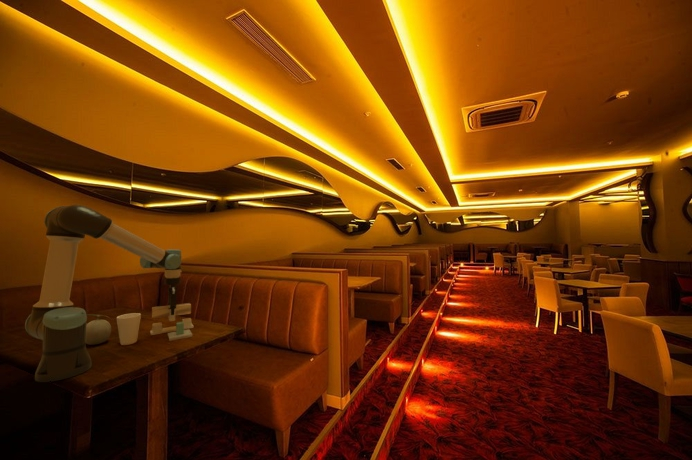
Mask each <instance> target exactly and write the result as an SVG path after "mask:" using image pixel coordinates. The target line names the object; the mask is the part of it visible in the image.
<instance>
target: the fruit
mask: <svg viewBox="0 0 692 460" xmlns="http://www.w3.org/2000/svg"><path fill="white" fill-rule="evenodd" d="M86 316H87V317H88V316H91V317H92V316H93V317H96V319H94V320H91V321H89V322H88V323H86V344H87V345H91V346H96V345H100V344H102V343H104V342H106V341H107V340H108V339H109V338H110V337H111V333H112V326H111V324H110V322H109V321H107V320H105V319H100V317H106V318H108V319H109V320H111V318H110V316H107V315H103V314H93V313H92V314H87V313H86Z"/></svg>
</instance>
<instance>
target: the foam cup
mask: <svg viewBox="0 0 692 460" xmlns="http://www.w3.org/2000/svg"><path fill="white" fill-rule="evenodd" d="M141 319H142V314H141V313H140V312H139V313H138V312H137V313H136V312H131V313H125V314H121V315H118V316H116V324H117V330H118V337H119V343H120V345H121V346H128V345H132V344H135V343H137V341H138V336H139V328H140V323H141Z"/></svg>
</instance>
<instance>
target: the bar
mask: <svg viewBox="0 0 692 460" xmlns="http://www.w3.org/2000/svg"><path fill="white" fill-rule="evenodd" d="M168 308H170V305H163V306H162V305H159V306H152V307H151V319H159V318H160V319H161V318H168V317H169V310H170V309H168ZM191 313H192V304H191V303H190V302H188V303H187V302H186V303H178V304H177V303H176V308H175V317H176V316H182V315H190V314H191Z"/></svg>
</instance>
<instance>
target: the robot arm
mask: <svg viewBox="0 0 692 460" xmlns="http://www.w3.org/2000/svg"><path fill="white" fill-rule="evenodd" d="M43 222H44V226H45V227H46V233H45V237H46V238H47V240H49V245H48V251H47V258H46V263H45V267H44V274H43V279H42V284H41V291H40V294H39V295H40V296H39V300H38V301H37V302H36V303H35V304H33V305H32V309H31V314H29V315H28V317H27V318H26V320H25V323H24V329H25V331H26V333H28V335H29V336H31V337H33V338H34V339H37V340H41V341H42V355H41V359H40V361H39V364H38V366H37V367H36V370H35V372H34V381H35V382H38V383H51V382H57V381H62V380H66V379H70V378H73V377H75V376H79V375H81V374H83V373H85V372H87V371H88V370H89V369H91V368H92V359H91V356H90V354H89V352H88V350H87V345H86V344H87V343H86V325H87V320H88V315H87V312H86V310H85V309H84V308H81V307H74V302H73V301H71V300H70V298H71V292H72V285H73V280H74V274H75V267H76V264H77V263H76V262H77V256H78V249H79V245H80V243H81V242H82V241H84V240H85V237H86V236H89V237H91V238H93V239H96V240H98V239H102V240H104V241H105V242H109V243H110V244H112V245H114V246H116V247H118V248H120V249H123V250H125V251H127V252H129V253H132V254H133V255H136V256H138V257H140V259H139V263H140V265H139V266H141V267H140V268H142V269H164V285H166V286H169V287H168V288H167V292H168V293H167V295H168V297H167V298H168V300H167V302H168V303H167V304H168V305H170V308H168V309H170V310H169V317H167V319H168V321H169V322H173V321H174V322H175V321H176V316H175V308H176V305H177V291H178V287H177V286H176V285H180V284H181V281H182V280H181V278H182V277H181V274H182V273H183V271H182V269H181V268H182V251H181V249H180V248H179V249H171V248H170V249H166V250H164V249H163V248H161V247H159V246H157V245H155V244H153V243H152V242H149V241H148V240H146V239H144V238H142V237H140V236H138V235H137V234H135V233H133V232H131V231H129V230H126V228H123V227H121V226H119V225H117V224H116V223H114V220H113V219H111V218H110V217H107V216H106V215H104V214H103V213H101V212H99V211H97V210H95V209H93V208H91V207H88V206H85V205H82V204H71V205H61V206H58V207H55V208H53V209H51V210H50V211H48V212H47V213H46V214H45V216H44V221H43ZM168 305H167V306H168ZM50 381H51V382H50Z"/></svg>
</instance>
